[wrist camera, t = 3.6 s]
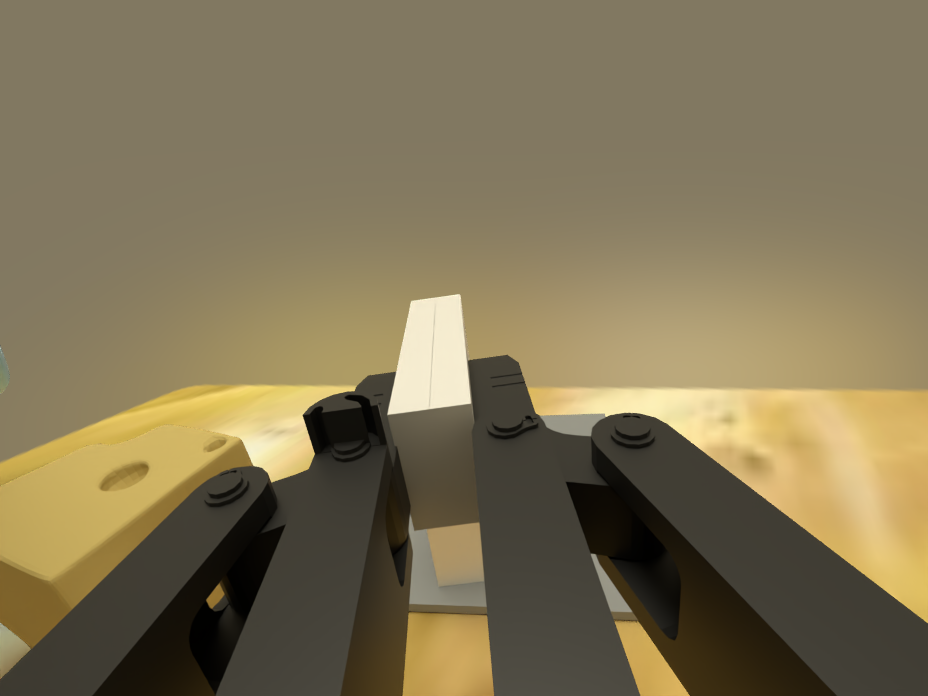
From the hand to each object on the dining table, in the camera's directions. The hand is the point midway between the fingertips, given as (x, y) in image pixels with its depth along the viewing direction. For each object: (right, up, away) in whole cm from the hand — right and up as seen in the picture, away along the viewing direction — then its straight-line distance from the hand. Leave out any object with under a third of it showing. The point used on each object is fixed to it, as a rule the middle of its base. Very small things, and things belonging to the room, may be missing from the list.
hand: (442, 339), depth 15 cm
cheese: (-16, -16, +13) cm, 27 cm away
